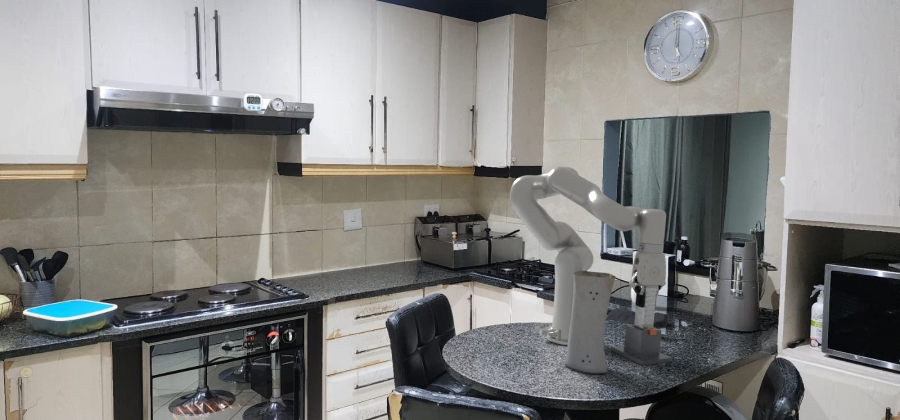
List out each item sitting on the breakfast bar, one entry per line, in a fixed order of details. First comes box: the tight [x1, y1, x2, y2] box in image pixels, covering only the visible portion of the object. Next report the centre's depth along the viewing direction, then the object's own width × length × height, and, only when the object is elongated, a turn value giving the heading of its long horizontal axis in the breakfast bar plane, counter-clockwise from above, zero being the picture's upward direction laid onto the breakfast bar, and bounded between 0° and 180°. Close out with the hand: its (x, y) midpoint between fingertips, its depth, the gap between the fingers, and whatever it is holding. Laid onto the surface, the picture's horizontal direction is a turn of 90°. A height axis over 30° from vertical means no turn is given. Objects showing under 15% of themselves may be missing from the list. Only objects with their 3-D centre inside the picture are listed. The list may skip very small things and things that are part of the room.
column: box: [634, 286, 657, 331], centre depth 191 cm, size 4×4×16 cm
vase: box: [564, 270, 616, 375], centre depth 177 cm, size 13×14×28 cm
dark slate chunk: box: [606, 307, 669, 330], centre depth 237 cm, size 15×22×5 cm
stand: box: [611, 324, 673, 366], centre depth 192 cm, size 12×14×10 cm
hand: (645, 305), depth 191 cm, fingers closed on column, 4 cm apart
